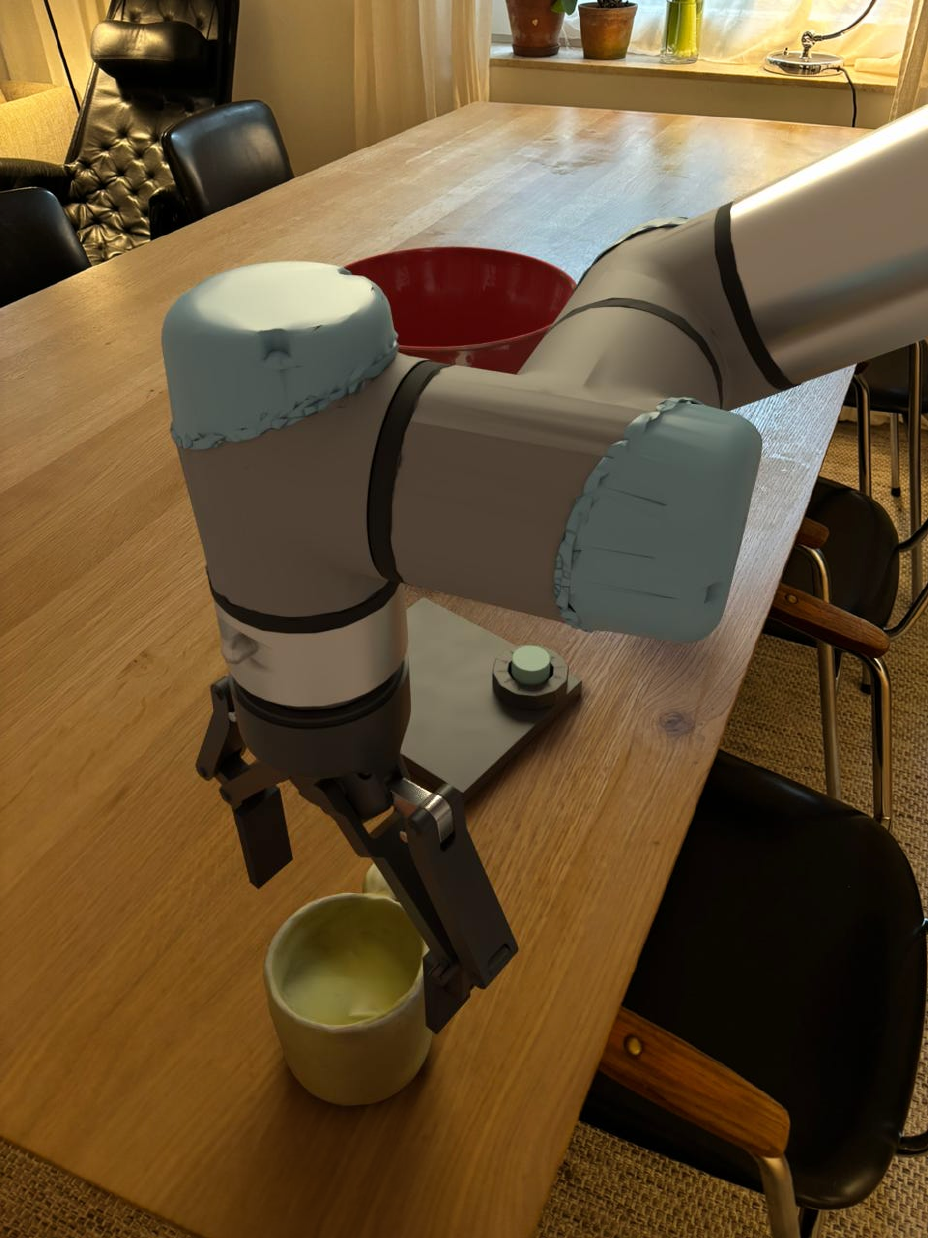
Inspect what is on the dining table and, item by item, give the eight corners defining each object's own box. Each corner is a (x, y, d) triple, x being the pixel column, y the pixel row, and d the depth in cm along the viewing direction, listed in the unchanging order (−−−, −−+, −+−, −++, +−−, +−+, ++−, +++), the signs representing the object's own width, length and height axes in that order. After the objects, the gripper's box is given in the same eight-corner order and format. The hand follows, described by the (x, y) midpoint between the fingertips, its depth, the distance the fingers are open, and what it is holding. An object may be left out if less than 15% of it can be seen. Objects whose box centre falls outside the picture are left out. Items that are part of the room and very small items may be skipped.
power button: (557, 670, 78) (558, 656, 77) (534, 691, 77) (535, 676, 76) (526, 654, 80) (527, 640, 79) (503, 674, 78) (504, 660, 77)
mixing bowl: (309, 381, 123) (293, 256, 113) (529, 353, 128) (533, 231, 118) (346, 503, 102) (331, 363, 92) (607, 464, 107) (620, 327, 97)
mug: (411, 1161, 51) (363, 1014, 48) (259, 1114, 56) (205, 977, 53) (508, 991, 61) (474, 858, 57) (370, 963, 66) (331, 839, 62)
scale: (581, 692, 80) (583, 665, 78) (463, 806, 71) (462, 778, 70) (424, 608, 89) (422, 582, 87) (300, 701, 80) (296, 673, 78)
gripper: (66, 578, 45) (159, 860, 59) (498, 874, 33) (488, 1143, 47) (197, 506, 49) (255, 784, 63) (622, 744, 37) (579, 1025, 51)
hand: (354, 937), depth 55 cm, fingers open, 13 cm apart
